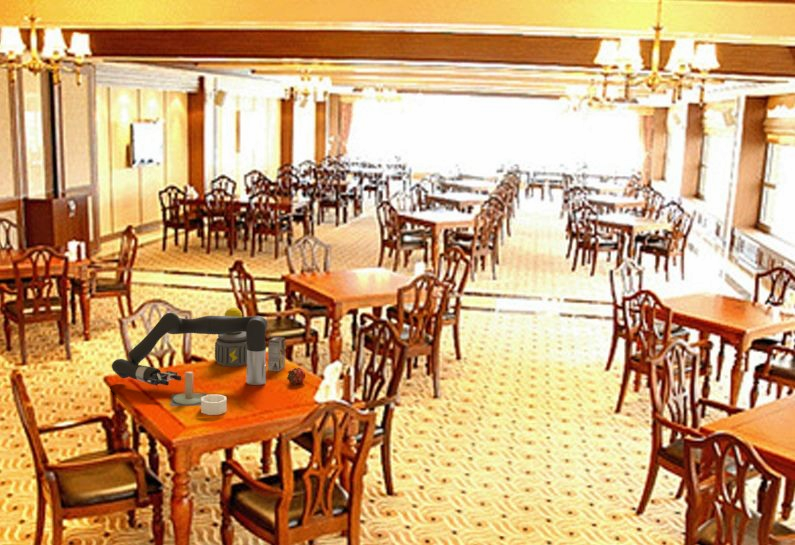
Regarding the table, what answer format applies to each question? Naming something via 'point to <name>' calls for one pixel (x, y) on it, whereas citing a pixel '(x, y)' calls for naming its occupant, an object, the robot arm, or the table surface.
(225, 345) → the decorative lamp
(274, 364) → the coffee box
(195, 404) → the mat
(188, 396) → the lid
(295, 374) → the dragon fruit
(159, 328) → the robot arm
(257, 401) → the table surface
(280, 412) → the table surface
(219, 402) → the bowl
